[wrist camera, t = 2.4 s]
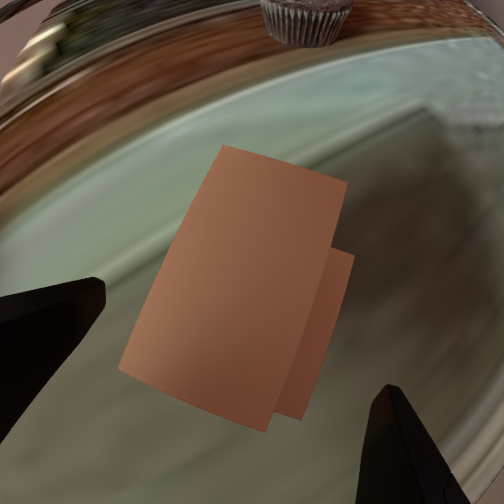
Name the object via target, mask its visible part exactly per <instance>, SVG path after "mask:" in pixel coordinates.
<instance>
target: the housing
mask: <svg viewBox="0 0 504 504" xmlns="http://www.w3.org/2000/svg"><path fill="white" fill-rule="evenodd" d="M476 504H504V467H503V469H502V470H501V472H500V473H499V475H498V476H497V477H496V479H495V480H494V481H493V483H492V484H491V485H490V487H489V488H488V489H487V491H486V492H485V493H484V494H483V496H482V497H481V498H480V499H479V501H478V502H477V503H476Z"/></svg>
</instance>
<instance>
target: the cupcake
mask: <svg viewBox="0 0 504 504" xmlns="http://www.w3.org/2000/svg"><path fill="white" fill-rule="evenodd" d="M260 4H261V8H262V12H263V17H264V21H265V26H266V30H267V33H268V34H269V35H270V36H271V37H273V38H274V39H275V40H277V41H279V42H281V43H284V44H288V45H292V46H297V47H306V48H315V47H323V46H329V45H330V44H331V42H333V41H335V40H336V38H337V36H338V34H339V32H340V29H341V27H342V25H343V23H344V20H345V19H346V17H347V15H348V13H349V12H350V10H351V9H352V5H353V0H260Z"/></svg>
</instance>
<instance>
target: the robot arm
mask: <svg viewBox="0 0 504 504" xmlns="http://www.w3.org/2000/svg"><path fill="white" fill-rule="evenodd" d="M105 304H106V289H105V282H104V281H103V280H101V279H99V278H96V277H89V278H85V279H80V280H75V281H71V282H66V283H62V284H57V285H53V286H48V287H43V288H39V289H34V290H30V291H25V292H21V293H16V294H12V295H7V296H3V297H0V444H1V443H2V441H3V440H4V439H5V437H6V436H7V434H8V433H9V432H10V430H11V428H12V427H13V426H14V425H15V423H16V422H17V421H18V419H19V418H20V417H21V415H22V414H23V413H24V411H25V410H26V409H27V407H28V406H29V405H30V404H31V402H32V401H33V400H34V398H35V397H36V396H37V395H38V393H39V392H40V391H41V389H42V388H43V387H44V386H45V384H46V383H47V382H48V381H49V379H50V378H51V377H52V376H53V375H54V373H55V372H56V371H57V370H58V368H59V367H60V366H61V365H62V364H63V362H64V361H65V360H66V359H67V358H68V356H69V355H70V354H71V353H72V352H73V350H74V349H75V348H76V347H77V346H78V344H79V343H80V342H81V341H82V339H83V338H84V337H85V335H86V334H87V332H88V331H89V329H90V328H91V326H92V325H93V323H94V322H95V321H96V319H97V318H98V316H99V315H100V313H101V312H102V311H103V309H104V307H105ZM355 504H471V503H470V501H469V500H468V498H467V497H466V495H465V494H464V492H463V491H462V489H461V487H460V486H459V484H458V482H457V481H456V479H455V477H454V475H453V474H452V473H451V470H450V469H449V467H448V465H447V463H446V462H445V460H444V458H443V457H442V455H441V453H440V452H439V450H438V448H437V447H436V445H435V443H434V442H433V440H432V438H431V437H430V435H429V433H428V432H427V430H426V429H425V427H424V425H423V424H422V422H421V420H420V419H419V417H418V416H417V414H416V412H415V411H414V409H413V408H412V406H411V404H410V403H409V401H408V400H407V398H406V397H405V395H404V393H403V392H402V390H401V389H400V388H399V387H398V386H394V385H390V384H387V385H385V386H384V387H383V389H382V390H381V391H380V393H379V394H378V395H377V396H376V398H375V399H374V401H373V402H372V404H371V408H370V413H369V419H368V424H367V429H366V434H365V439H364V443H363V448H362V455H361V464H360V472H359V480H358V488H357V495H356V501H355Z"/></svg>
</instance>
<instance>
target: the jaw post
mask: <svg viewBox="0 0 504 504" xmlns="http://www.w3.org/2000/svg"><path fill="white" fill-rule="evenodd" d="M347 185H348V182H345V181H342V180H339V179H336V178H333V177H330V176H327V175H324V174H321V173H318V172H315V171H312V170H309V169H306V168H303V167H300V166H296V165H293V164H290V163H287V162H283V161H280V160H276V159H273V158H270V157H266V156H263V155H259V154H255V153H252V152H248V151H244V150H241V149H237V148H233V147H229V146H225V145H223V146H222V147H221V149H220V151H219V153H218V155H217V157H216V158H215V160H214V162H213V164H212V166H211V168H210V169H209V171H208V173H207V175H206V177H205V179H204V181H203V183H202V185H201V186H200V188H199V190H198V192H197V194H196V196H195V198H194V200H193V202H192V204H191V206H190V208H189V210H188V212H187V214H186V216H185V218H184V220H183V222H182V224H181V226H180V228H179V230H178V232H177V234H176V236H175V238H174V240H173V242H172V244H171V246H170V249H169V251H168V253H167V255H166V257H165V259H164V261H163V263H162V266H161V268H160V270H159V272H158V274H157V276H156V279H155V281H154V283H153V285H152V288H151V290H150V292H149V294H148V297H147V299H146V301H145V303H144V306H143V308H142V310H141V313H140V315H139V317H138V320H137V322H136V324H135V327H134V329H133V332H132V334H131V337H130V339H129V341H128V344H127V346H126V349H125V351H124V354H123V356H122V359H121V362H120V364H119V367H118V369H119V370H121V371H123V372H124V373H126V374H128V375H130V376H132V377H134V378H136V379H138V380H140V381H142V382H144V383H146V384H148V385H150V386H152V387H154V388H156V389H158V390H160V391H162V392H164V393H166V394H168V395H171V396H173V397H175V398H177V399H179V400H182V401H184V402H186V403H188V404H191V405H193V406H195V407H198V408H200V409H203V410H205V411H207V412H210V413H212V414H215V415H217V416H220V417H223V418H225V419H228V420H231V421H233V422H236V423H239V424H241V425H244V426H247V427H250V428H253V429H256V430H259V431H262V432H265V431H266V429H267V427H268V424H269V422H270V419H271V417H272V414H273V412H276V413H280V414H283V415H286V416H289V417H292V418H296V419H299V420H302V417H303V415H304V412H305V410H306V407H307V405H308V402H309V399H310V397H311V394H312V391H313V389H314V386H315V383H316V381H317V378H318V375H319V372H320V369H321V367H322V364H323V361H324V358H325V355H326V352H327V349H328V346H329V343H330V340H331V337H332V334H333V331H334V327H335V324H336V321H337V318H338V315H339V311H340V308H341V305H342V301H343V298H344V294H345V291H346V287H347V284H348V280H349V277H350V273H351V269H352V265H353V262H354V258H355V255H352V254H349V253H346V252H344V251H341V250H338V249H335V248H332V247H331V243H332V240H333V236H334V233H335V229H336V226H337V222H338V219H339V215H340V211H341V208H342V204H343V200H344V196H345V193H346V189H347Z"/></svg>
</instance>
